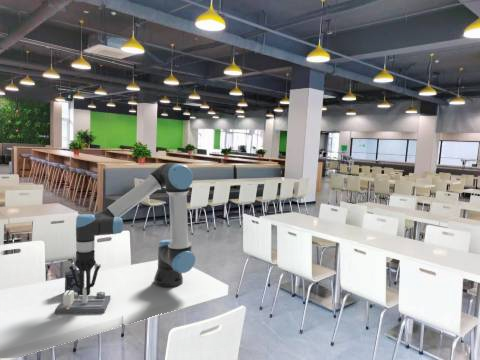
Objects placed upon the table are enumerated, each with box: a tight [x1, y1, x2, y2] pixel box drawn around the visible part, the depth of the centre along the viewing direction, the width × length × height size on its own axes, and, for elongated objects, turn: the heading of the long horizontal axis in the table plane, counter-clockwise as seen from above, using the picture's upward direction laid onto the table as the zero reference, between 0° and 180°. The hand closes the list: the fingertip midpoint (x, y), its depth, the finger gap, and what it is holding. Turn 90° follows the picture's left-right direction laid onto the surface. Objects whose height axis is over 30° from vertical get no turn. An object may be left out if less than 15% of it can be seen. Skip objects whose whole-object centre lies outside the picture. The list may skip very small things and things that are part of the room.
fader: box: [62, 290, 74, 306], centre depth 164 cm, size 3×5×5 cm, turn 9°
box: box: [64, 269, 80, 295], centre depth 181 cm, size 8×6×11 cm
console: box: [54, 291, 112, 315], centre depth 167 cm, size 20×14×4 cm
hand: (85, 302), depth 165 cm, fingers closed
